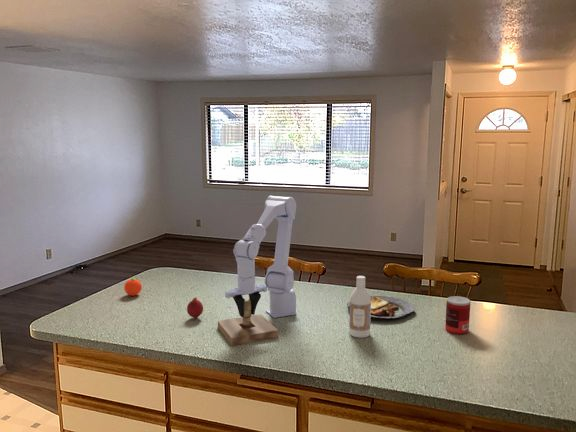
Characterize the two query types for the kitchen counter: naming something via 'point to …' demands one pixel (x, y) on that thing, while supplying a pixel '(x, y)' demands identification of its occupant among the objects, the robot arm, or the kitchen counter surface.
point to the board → (247, 330)
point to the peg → (247, 312)
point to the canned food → (457, 315)
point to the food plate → (388, 307)
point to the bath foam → (360, 310)
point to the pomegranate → (195, 308)
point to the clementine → (132, 287)
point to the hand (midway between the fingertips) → (246, 314)
